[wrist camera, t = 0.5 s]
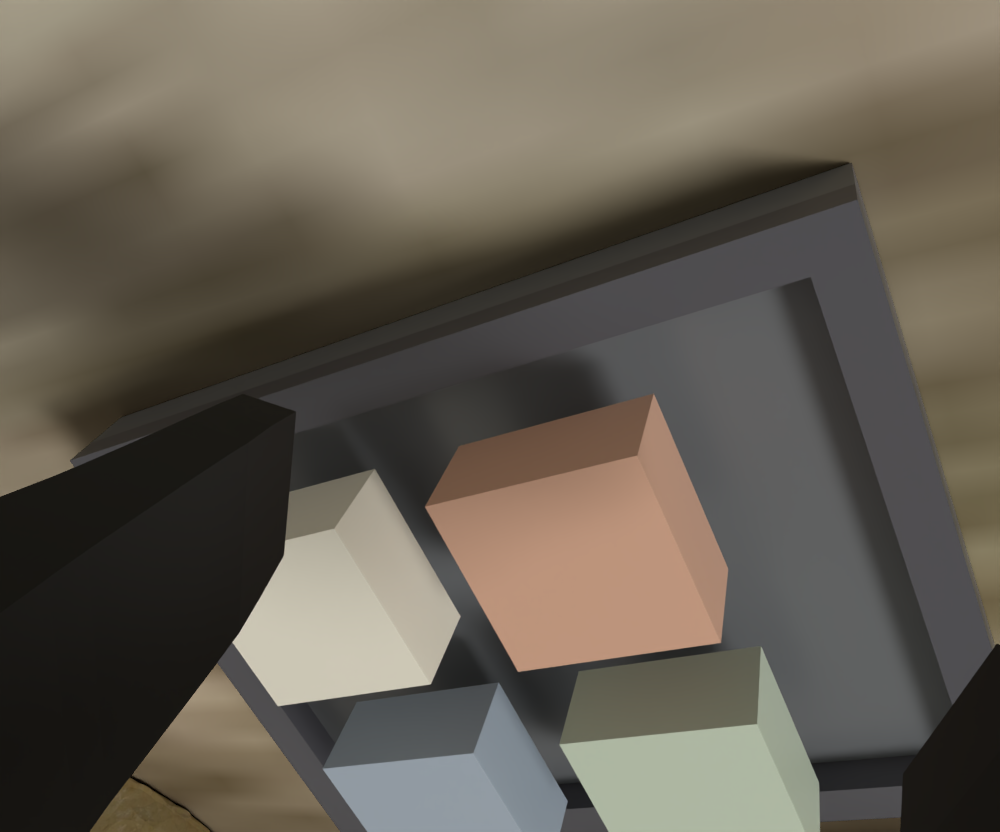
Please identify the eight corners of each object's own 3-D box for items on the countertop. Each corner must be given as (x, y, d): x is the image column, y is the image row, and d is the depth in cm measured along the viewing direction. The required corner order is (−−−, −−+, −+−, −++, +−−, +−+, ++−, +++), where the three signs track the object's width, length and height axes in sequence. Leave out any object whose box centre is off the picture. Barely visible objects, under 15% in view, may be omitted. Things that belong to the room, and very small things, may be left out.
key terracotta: (727, 568, 18) (721, 642, 16) (542, 601, 20) (518, 671, 18) (653, 393, 16) (637, 455, 15) (459, 446, 18) (424, 506, 16)
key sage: (819, 782, 20) (820, 866, 18) (644, 795, 22) (632, 872, 20) (761, 645, 19) (757, 723, 17) (578, 671, 20) (559, 744, 19)
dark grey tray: (1021, 734, 21) (1039, 810, 20) (377, 790, 29) (352, 847, 27) (851, 162, 16) (857, 199, 14) (120, 417, 24) (69, 460, 22)
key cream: (460, 616, 20) (430, 684, 19) (316, 642, 22) (277, 706, 20) (374, 468, 19) (334, 528, 17) (227, 508, 21) (178, 566, 19)
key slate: (567, 801, 23) (549, 876, 21) (429, 811, 24) (403, 881, 23) (498, 682, 21) (473, 753, 20) (356, 702, 23) (322, 768, 21)
